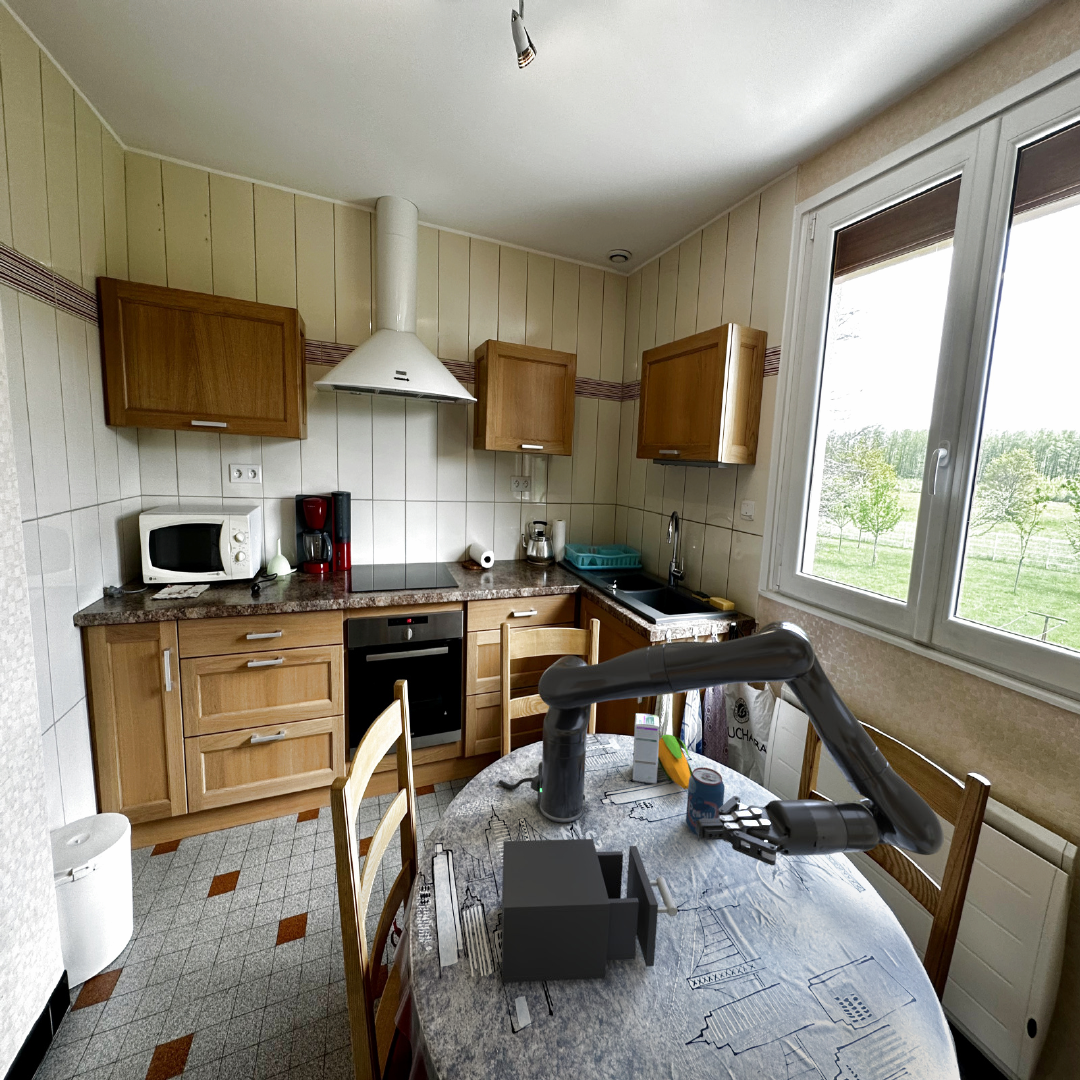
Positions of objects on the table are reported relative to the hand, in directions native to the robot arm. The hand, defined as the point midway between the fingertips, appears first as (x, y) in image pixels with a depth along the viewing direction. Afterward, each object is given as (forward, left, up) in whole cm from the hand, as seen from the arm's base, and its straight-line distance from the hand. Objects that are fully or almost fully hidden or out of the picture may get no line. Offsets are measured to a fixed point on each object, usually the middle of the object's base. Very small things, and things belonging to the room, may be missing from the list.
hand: (697, 829), depth 77 cm
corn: (-24, +37, -18) cm, 48 cm away
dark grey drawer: (-8, -9, -17) cm, 21 cm away
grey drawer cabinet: (-14, -17, -18) cm, 29 cm away
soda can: (-10, +24, -18) cm, 32 cm away
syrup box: (-29, +31, -18) cm, 46 cm away
